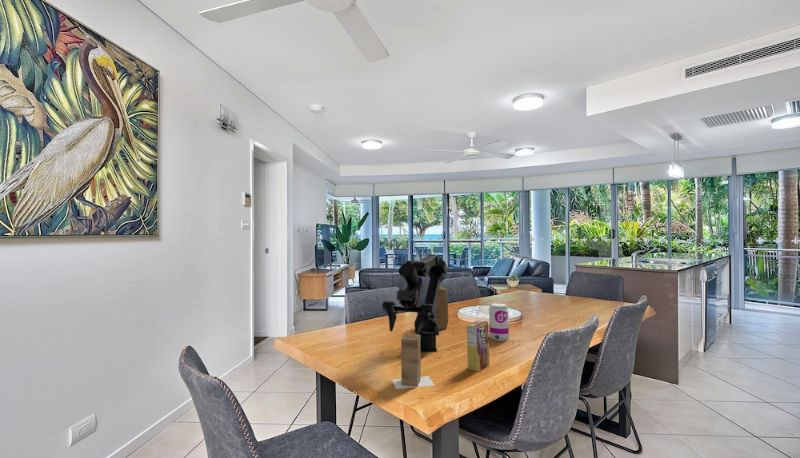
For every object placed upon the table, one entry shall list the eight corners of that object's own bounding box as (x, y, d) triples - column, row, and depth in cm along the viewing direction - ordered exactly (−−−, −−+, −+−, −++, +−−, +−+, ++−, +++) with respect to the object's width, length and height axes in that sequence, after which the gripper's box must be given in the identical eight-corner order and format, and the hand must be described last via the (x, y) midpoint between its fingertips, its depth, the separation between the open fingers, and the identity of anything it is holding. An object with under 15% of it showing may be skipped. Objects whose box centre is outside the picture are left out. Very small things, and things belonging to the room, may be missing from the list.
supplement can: (511, 341, 149) (510, 306, 150) (492, 341, 149) (491, 306, 150) (505, 336, 157) (505, 302, 158) (487, 336, 157) (487, 303, 158)
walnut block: (405, 378, 110) (404, 334, 110) (420, 379, 109) (420, 335, 109) (401, 385, 105) (401, 338, 106) (417, 386, 104) (417, 339, 104)
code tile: (428, 377, 112) (428, 376, 112) (434, 386, 105) (434, 385, 105) (391, 380, 109) (391, 379, 109) (395, 389, 103) (395, 388, 103)
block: (449, 329, 169) (449, 288, 170) (435, 330, 168) (434, 289, 168) (441, 324, 180) (440, 285, 180) (427, 325, 178) (427, 286, 178)
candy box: (478, 362, 125) (478, 319, 125) (489, 364, 122) (489, 321, 123) (466, 369, 118) (466, 324, 119) (478, 372, 116) (477, 326, 116)
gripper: (382, 278, 123) (369, 319, 114) (432, 280, 116) (423, 324, 107) (392, 294, 131) (381, 333, 122) (439, 297, 124) (432, 339, 115)
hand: (403, 332), depth 116 cm, fingers open, 9 cm apart
